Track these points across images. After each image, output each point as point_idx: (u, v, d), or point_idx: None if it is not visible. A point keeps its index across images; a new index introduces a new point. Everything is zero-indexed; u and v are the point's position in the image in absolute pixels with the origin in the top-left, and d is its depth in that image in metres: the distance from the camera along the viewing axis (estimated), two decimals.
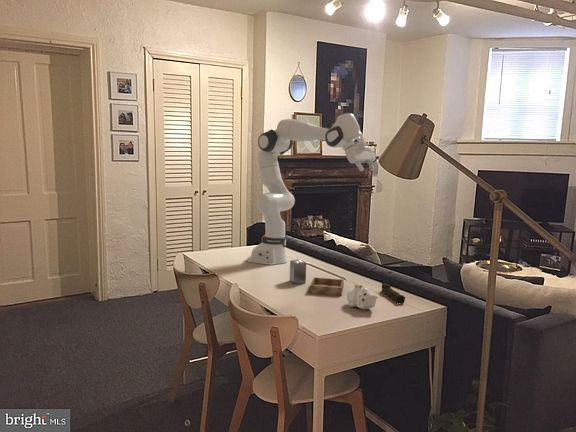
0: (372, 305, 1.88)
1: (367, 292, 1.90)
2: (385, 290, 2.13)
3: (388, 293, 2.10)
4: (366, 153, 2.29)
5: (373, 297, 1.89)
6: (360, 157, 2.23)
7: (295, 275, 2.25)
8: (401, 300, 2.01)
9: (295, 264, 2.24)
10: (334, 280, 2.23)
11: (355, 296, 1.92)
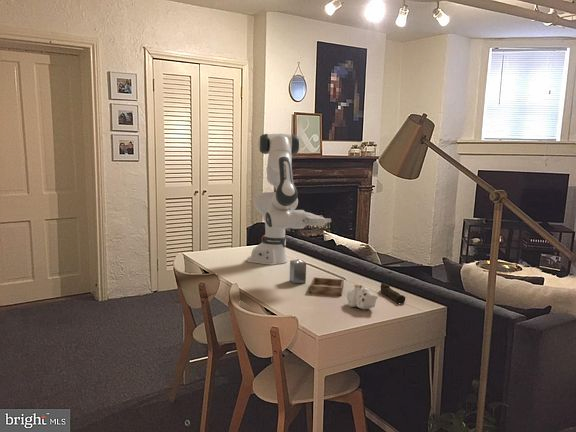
0: (372, 305, 1.88)
1: (367, 292, 1.90)
2: (384, 290, 2.13)
3: (388, 293, 2.09)
4: None
5: (373, 297, 1.89)
6: None
7: (295, 275, 2.25)
8: (401, 300, 2.01)
9: (295, 264, 2.24)
10: (334, 280, 2.23)
11: (355, 296, 1.92)
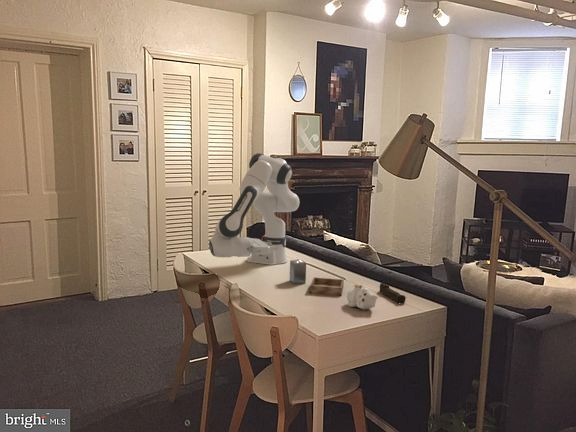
0: (372, 305, 1.88)
1: (367, 292, 1.90)
2: (384, 290, 2.13)
3: (387, 293, 2.09)
4: None
5: (373, 298, 1.89)
6: None
7: (295, 275, 2.25)
8: (402, 300, 2.01)
9: (295, 264, 2.24)
10: (334, 280, 2.23)
11: (355, 296, 1.92)
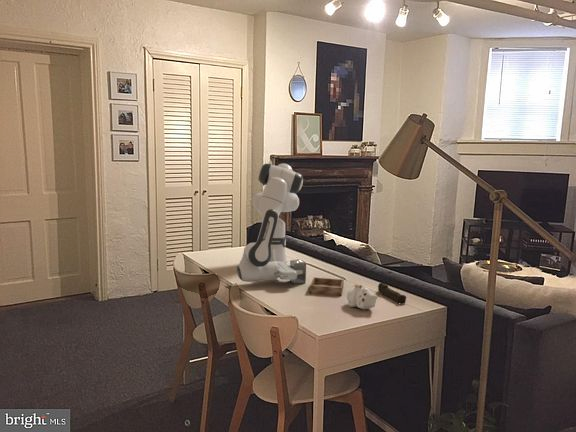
0: (372, 305, 1.88)
1: (367, 292, 1.90)
2: (383, 290, 2.12)
3: (387, 293, 2.09)
4: None
5: (373, 297, 1.89)
6: None
7: None
8: (402, 300, 2.01)
9: (295, 264, 2.24)
10: (334, 280, 2.23)
11: (355, 296, 1.92)
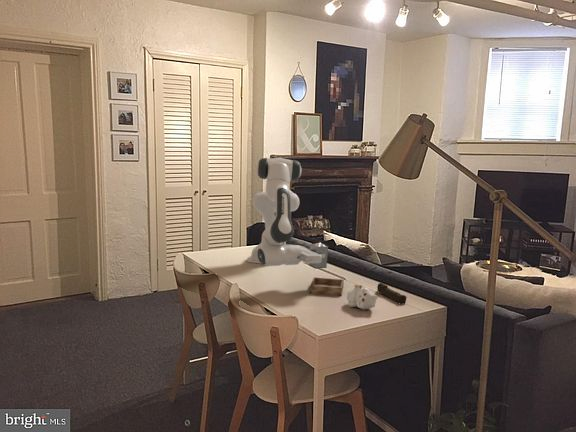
0: (372, 305, 1.88)
1: (367, 292, 1.90)
2: (383, 290, 2.12)
3: (387, 293, 2.09)
4: None
5: (373, 297, 1.89)
6: None
7: None
8: (403, 300, 2.01)
9: (317, 248, 2.15)
10: (334, 280, 2.23)
11: (355, 296, 1.92)
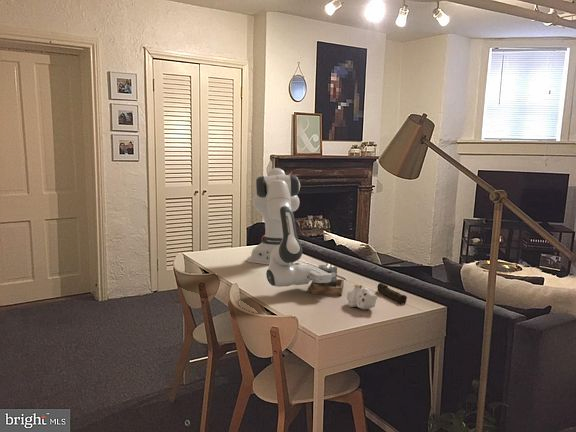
0: (372, 305, 1.88)
1: (367, 292, 1.90)
2: (383, 290, 2.12)
3: (387, 293, 2.09)
4: None
5: (373, 297, 1.89)
6: None
7: None
8: (403, 300, 2.01)
9: (326, 269, 2.12)
10: None
11: (355, 296, 1.92)
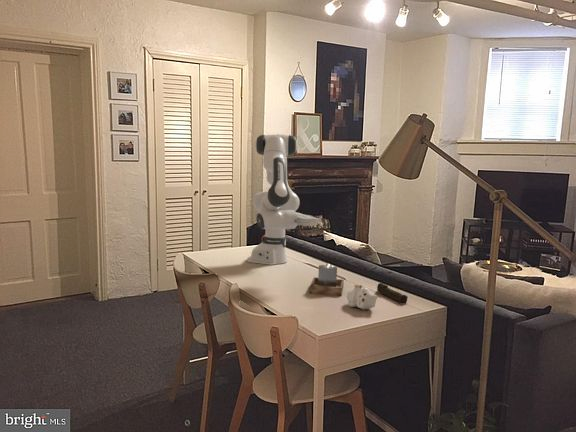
0: (372, 305, 1.88)
1: (367, 292, 1.90)
2: (383, 290, 2.12)
3: (387, 293, 2.09)
4: None
5: (373, 297, 1.89)
6: None
7: (326, 281, 2.13)
8: (404, 300, 2.01)
9: (326, 269, 2.12)
10: None
11: (355, 296, 1.92)
